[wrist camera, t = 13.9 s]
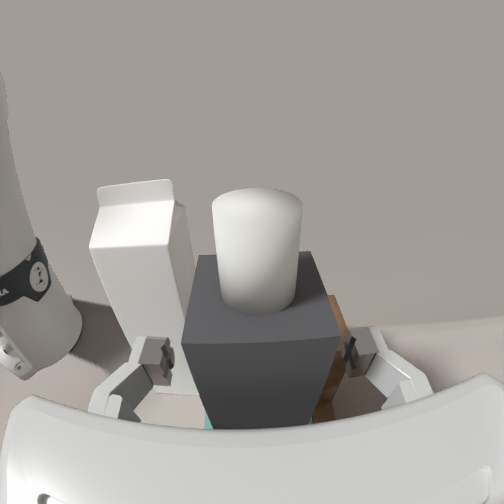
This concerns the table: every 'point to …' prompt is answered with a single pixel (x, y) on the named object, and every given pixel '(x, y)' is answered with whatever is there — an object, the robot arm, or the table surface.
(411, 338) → the table surface
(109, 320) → the table surface
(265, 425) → the grey capped bottle
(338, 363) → the brown notched panel
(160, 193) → the milk
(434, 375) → the table surface
